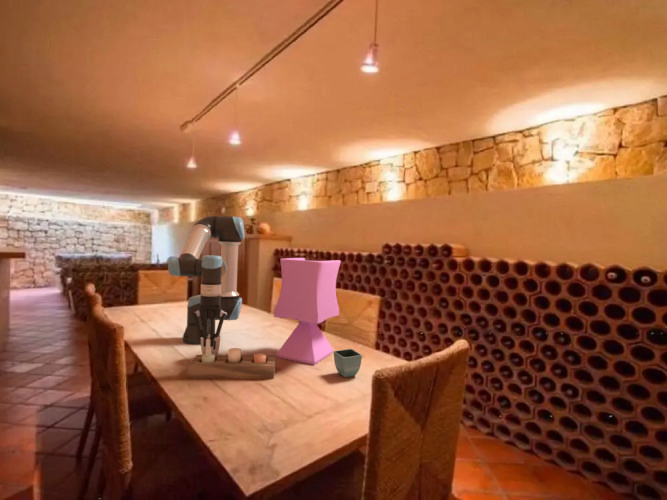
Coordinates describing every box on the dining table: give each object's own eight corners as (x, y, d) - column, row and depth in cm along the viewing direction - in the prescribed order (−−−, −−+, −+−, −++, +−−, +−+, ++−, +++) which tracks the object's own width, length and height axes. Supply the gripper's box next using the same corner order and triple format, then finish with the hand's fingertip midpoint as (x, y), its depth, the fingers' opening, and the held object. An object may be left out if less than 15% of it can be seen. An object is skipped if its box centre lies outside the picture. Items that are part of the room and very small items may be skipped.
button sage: (203, 365, 135) (203, 353, 135) (215, 365, 135) (216, 353, 135) (199, 370, 130) (200, 357, 130) (212, 370, 131) (213, 357, 130)
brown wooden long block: (196, 366, 138) (197, 354, 138) (275, 367, 141) (276, 355, 141) (186, 378, 126) (187, 365, 126) (273, 378, 129) (274, 365, 129)
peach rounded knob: (229, 360, 136) (229, 348, 136) (241, 360, 136) (241, 348, 136) (226, 364, 131) (227, 351, 131) (239, 364, 132) (239, 351, 131)
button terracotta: (254, 365, 137) (254, 353, 137) (266, 365, 137) (266, 353, 137) (252, 370, 132) (253, 357, 132) (265, 370, 133) (265, 357, 133)
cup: (213, 363, 142) (214, 340, 142) (195, 361, 144) (196, 338, 144) (223, 357, 150) (224, 335, 150) (206, 355, 152) (207, 333, 152)
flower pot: (342, 380, 131) (343, 357, 130) (332, 372, 138) (333, 350, 138) (361, 377, 135) (362, 355, 134) (350, 369, 142) (351, 348, 142)
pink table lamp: (337, 352, 164) (341, 260, 163) (315, 366, 144) (320, 261, 143) (297, 345, 174) (301, 257, 173) (272, 357, 153) (276, 258, 153)
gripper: (190, 295, 128) (188, 357, 128) (225, 296, 129) (223, 358, 129) (196, 292, 135) (194, 351, 136) (229, 293, 137) (227, 351, 137)
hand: (208, 354), depth 132 cm, fingers closed
